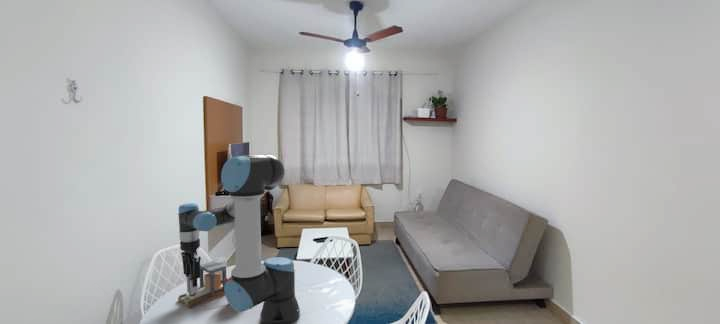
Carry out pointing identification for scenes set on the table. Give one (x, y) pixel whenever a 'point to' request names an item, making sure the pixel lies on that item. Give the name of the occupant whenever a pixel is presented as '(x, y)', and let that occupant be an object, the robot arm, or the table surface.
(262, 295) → the robot arm
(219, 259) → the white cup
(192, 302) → the grey legged frame
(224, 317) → the table surface
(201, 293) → the u-shaped holder
